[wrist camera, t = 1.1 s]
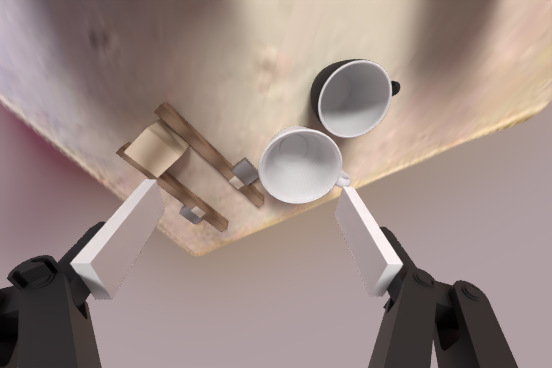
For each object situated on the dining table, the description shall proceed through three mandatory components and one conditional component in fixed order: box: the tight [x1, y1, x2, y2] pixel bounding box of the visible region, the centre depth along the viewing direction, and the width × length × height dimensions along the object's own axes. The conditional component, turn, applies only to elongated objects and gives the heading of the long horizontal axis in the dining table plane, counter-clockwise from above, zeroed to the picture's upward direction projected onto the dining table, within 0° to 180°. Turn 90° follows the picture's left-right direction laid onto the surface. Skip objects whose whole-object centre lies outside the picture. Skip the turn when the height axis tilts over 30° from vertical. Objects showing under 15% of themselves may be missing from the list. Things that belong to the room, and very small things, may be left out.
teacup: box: [258, 126, 351, 204], centre depth 35 cm, size 12×15×10 cm
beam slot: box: [116, 102, 264, 232], centre depth 40 cm, size 24×18×3 cm
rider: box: [124, 119, 189, 178], centre depth 35 cm, size 6×6×5 cm
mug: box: [311, 59, 400, 138], centre depth 30 cm, size 12×9×10 cm
